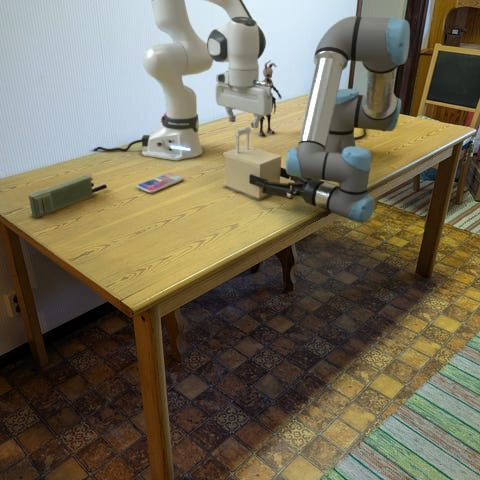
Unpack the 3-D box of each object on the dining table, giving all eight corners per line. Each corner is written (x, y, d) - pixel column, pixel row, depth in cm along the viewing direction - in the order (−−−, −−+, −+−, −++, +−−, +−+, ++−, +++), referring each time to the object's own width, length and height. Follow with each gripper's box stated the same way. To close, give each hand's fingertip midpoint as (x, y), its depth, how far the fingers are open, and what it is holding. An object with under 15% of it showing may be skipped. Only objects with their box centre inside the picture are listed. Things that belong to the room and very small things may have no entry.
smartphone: (184, 177, 167) (150, 191, 157) (184, 180, 167) (151, 194, 157) (168, 171, 171) (134, 185, 161) (168, 174, 171) (135, 188, 161)
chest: (225, 187, 163) (225, 156, 158) (246, 178, 169) (246, 149, 164) (258, 200, 154) (259, 168, 149) (279, 190, 161) (281, 159, 156)
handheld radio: (30, 215, 144) (102, 188, 161) (37, 219, 142) (109, 191, 159) (26, 193, 140) (100, 168, 157) (33, 197, 138) (107, 171, 155)
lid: (223, 156, 158) (223, 130, 154) (245, 148, 165) (245, 123, 161) (259, 168, 149) (260, 141, 145) (281, 159, 156) (282, 133, 152)
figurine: (257, 139, 205) (260, 61, 191) (247, 135, 209) (249, 59, 194) (282, 131, 214) (286, 57, 199) (272, 128, 218) (275, 55, 203)
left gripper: (278, 81, 144) (276, 129, 150) (226, 72, 156) (226, 116, 162) (263, 84, 140) (262, 133, 146) (211, 74, 152) (212, 120, 158)
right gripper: (296, 219, 138) (236, 195, 151) (341, 194, 153) (283, 175, 166) (298, 194, 134) (236, 172, 147) (344, 171, 149) (285, 153, 162)
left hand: (243, 124), depth 154 cm, fingers open, 8 cm apart
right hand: (261, 173), depth 157 cm, fingers closed on chest, 10 cm apart
